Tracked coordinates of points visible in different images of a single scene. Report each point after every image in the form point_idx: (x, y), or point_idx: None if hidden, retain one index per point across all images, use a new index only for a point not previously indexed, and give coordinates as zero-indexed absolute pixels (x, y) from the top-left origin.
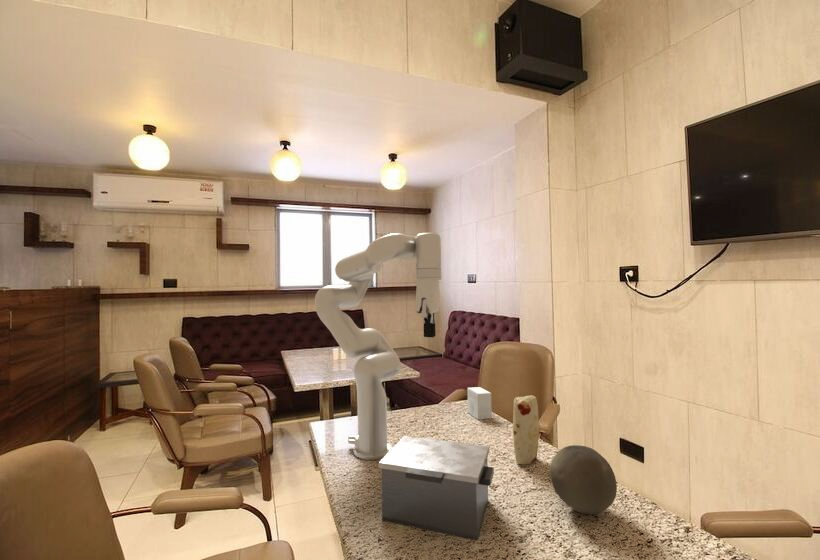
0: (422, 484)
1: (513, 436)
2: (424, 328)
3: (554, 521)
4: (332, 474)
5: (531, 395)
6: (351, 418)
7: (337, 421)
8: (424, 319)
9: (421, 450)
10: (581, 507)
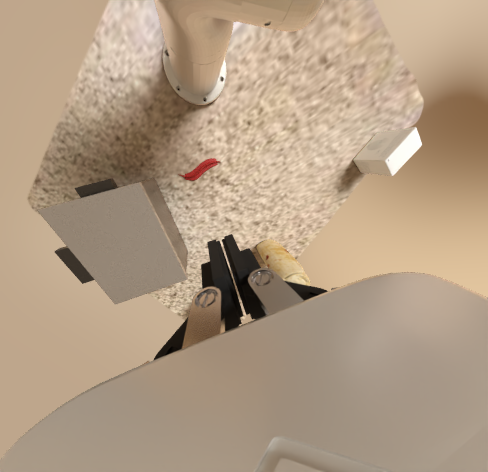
0: None
1: (269, 251)
2: (212, 265)
3: (193, 291)
4: (96, 55)
5: None
6: None
7: None
8: (170, 342)
9: (119, 231)
10: None
